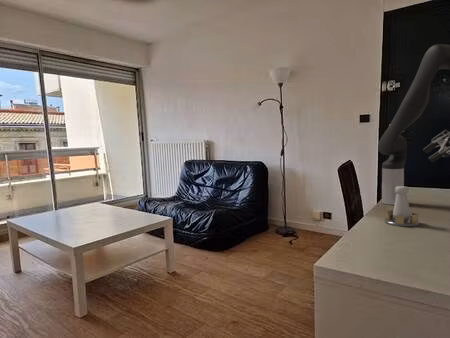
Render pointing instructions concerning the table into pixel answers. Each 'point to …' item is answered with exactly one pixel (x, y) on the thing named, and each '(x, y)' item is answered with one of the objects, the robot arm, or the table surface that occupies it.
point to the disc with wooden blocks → (401, 219)
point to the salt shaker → (401, 203)
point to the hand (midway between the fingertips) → (427, 156)
